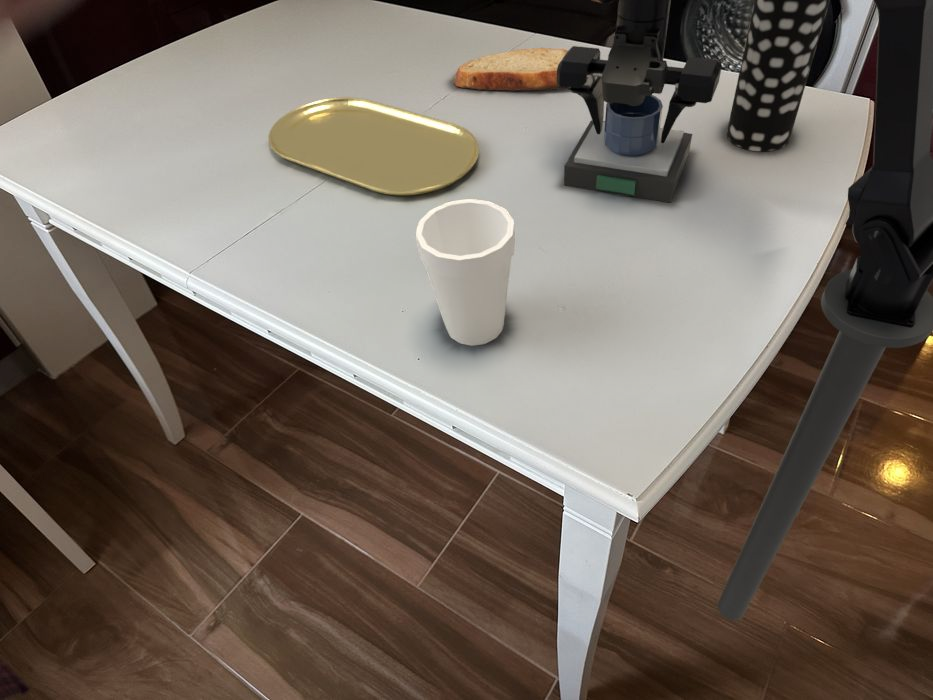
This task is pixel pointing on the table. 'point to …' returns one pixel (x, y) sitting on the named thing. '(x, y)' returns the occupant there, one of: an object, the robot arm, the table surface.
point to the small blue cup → (633, 126)
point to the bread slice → (512, 70)
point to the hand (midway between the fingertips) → (630, 137)
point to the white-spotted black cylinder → (774, 71)
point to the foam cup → (468, 266)
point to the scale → (628, 166)
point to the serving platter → (375, 145)
